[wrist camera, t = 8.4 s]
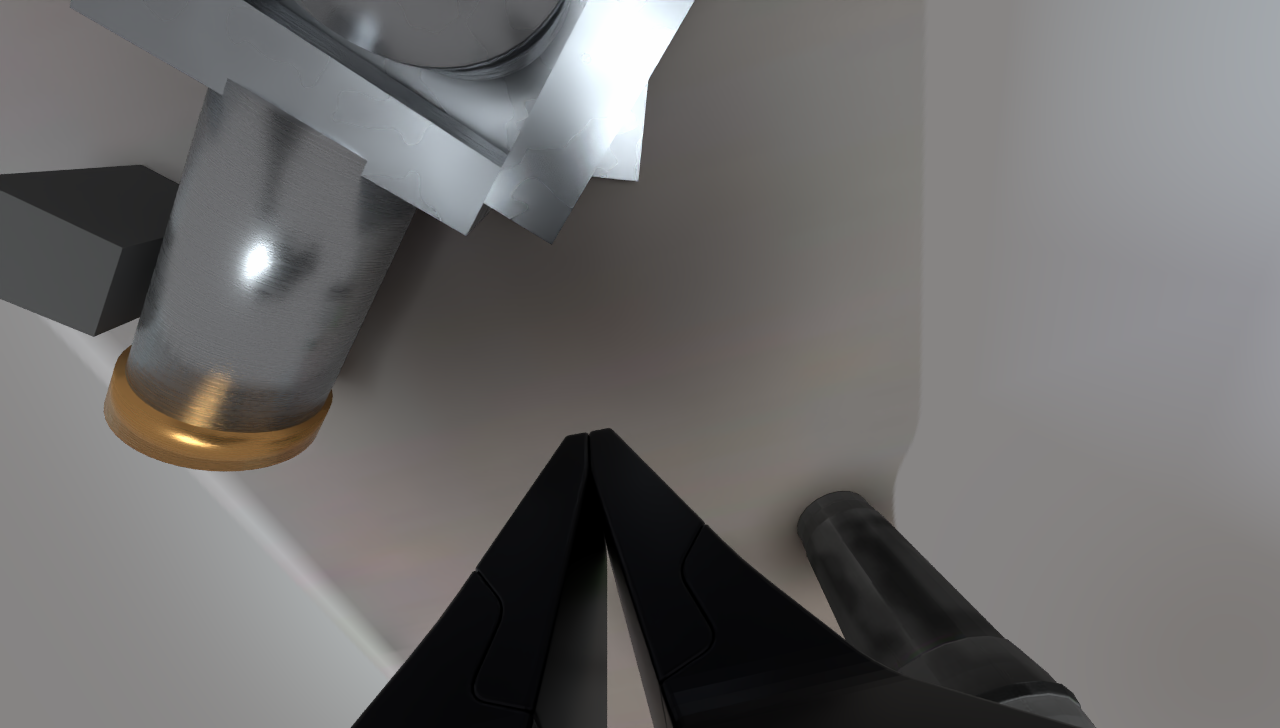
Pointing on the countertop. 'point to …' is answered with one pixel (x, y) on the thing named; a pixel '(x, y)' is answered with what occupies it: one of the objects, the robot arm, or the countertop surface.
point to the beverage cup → (918, 613)
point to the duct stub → (472, 60)
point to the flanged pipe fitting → (325, 207)
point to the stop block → (82, 242)
